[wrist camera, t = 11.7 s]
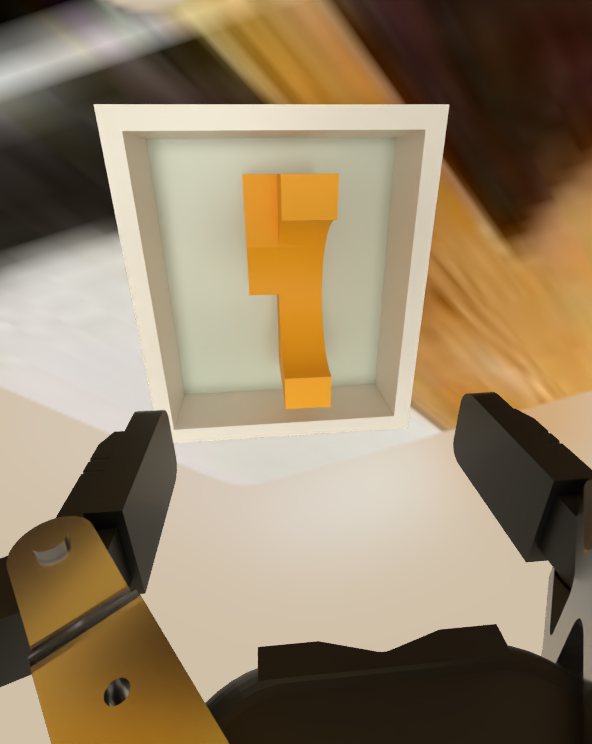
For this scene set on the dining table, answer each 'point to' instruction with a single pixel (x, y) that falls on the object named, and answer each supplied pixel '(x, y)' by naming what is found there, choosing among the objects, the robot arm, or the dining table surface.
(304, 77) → the dining table surface
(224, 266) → the walled box
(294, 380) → the pipe clamp
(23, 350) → the dining table surface
